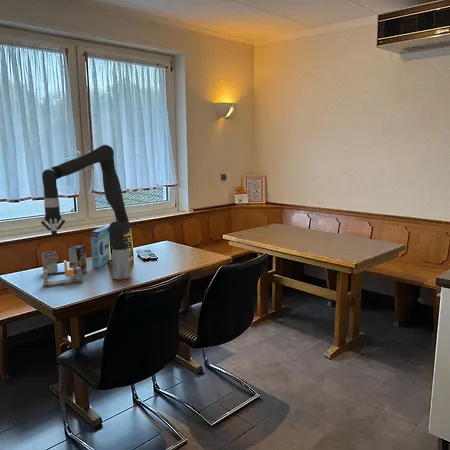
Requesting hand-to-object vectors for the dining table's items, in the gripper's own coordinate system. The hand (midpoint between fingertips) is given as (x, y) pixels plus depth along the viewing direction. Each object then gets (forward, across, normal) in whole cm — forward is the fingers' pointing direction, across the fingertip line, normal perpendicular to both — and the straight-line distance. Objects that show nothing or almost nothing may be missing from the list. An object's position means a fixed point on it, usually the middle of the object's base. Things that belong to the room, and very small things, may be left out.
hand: (54, 236), depth 240 cm
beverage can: (+25, +3, -17) cm, 31 cm away
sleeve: (+21, -6, +7) cm, 23 cm away
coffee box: (+25, -12, -10) cm, 30 cm away
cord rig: (+25, -2, +7) cm, 26 cm away
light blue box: (+25, -28, -25) cm, 45 cm away
